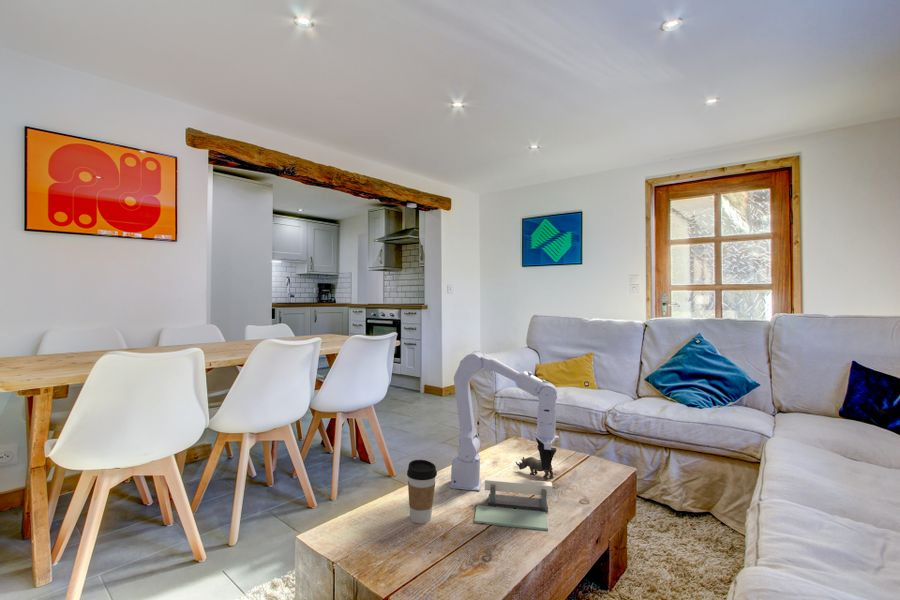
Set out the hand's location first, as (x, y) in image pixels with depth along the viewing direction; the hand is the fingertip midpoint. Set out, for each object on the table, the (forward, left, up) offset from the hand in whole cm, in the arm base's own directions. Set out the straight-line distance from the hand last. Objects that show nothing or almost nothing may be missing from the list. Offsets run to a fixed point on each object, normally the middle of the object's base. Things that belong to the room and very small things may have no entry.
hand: (544, 464), depth 136 cm
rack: (-8, -7, -10) cm, 15 cm away
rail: (-8, -7, -6) cm, 12 cm away
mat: (-10, -16, -10) cm, 22 cm away
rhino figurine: (-2, +17, -10) cm, 20 cm away
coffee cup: (-35, -21, -10) cm, 42 cm away
